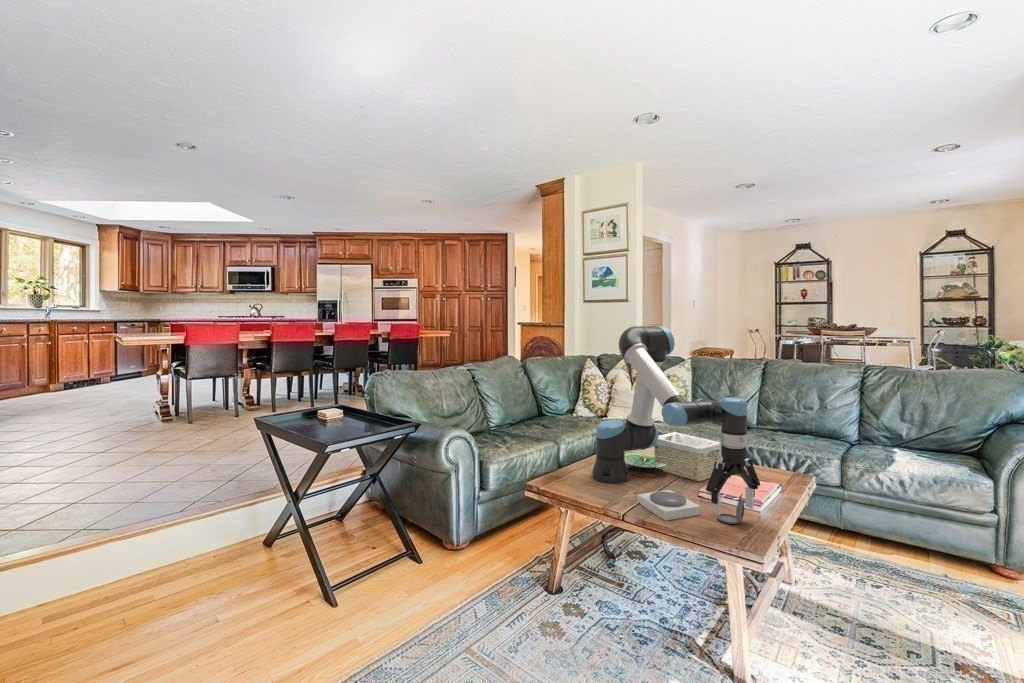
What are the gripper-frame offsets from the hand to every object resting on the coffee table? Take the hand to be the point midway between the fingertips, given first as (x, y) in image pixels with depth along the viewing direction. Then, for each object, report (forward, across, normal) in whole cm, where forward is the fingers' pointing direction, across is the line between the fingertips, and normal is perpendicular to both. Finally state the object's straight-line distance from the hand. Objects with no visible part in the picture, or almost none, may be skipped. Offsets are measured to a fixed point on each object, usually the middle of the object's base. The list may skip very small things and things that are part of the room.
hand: (733, 510), depth 152 cm
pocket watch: (+4, 0, 0) cm, 4 cm away
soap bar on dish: (+4, -13, +16) cm, 21 cm away
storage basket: (+4, +19, +46) cm, 50 cm away
